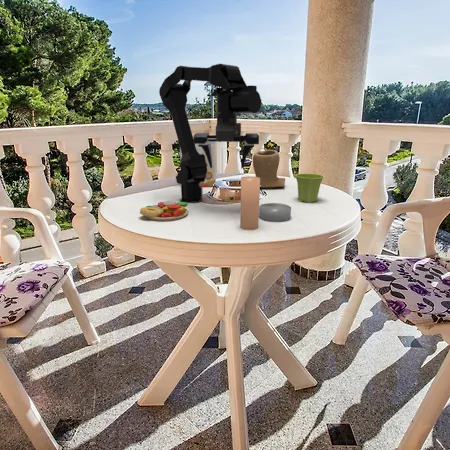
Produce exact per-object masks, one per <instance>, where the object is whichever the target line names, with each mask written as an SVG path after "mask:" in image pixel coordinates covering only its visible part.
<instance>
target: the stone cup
mask: <svg viewBox="0 0 450 450" xmlns="http://www.w3.org/2000/svg"><path fill="white" fill-rule="evenodd" d="M279 165H280V155H279V152H278V151H277V150H275V149H265V150H262V151H261V150H258V151H256V152H255V153H253V156H252V166H253V170H254V174H255V177H259V178H260V185H261V188H260V189H264V188H266V189H267V188H268V189H270V188H271V189H273V188H284V187H285V184H286V178H285V177H278V171H279Z"/></svg>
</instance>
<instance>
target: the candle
mask: <svg viewBox="0 0 450 450" xmlns="http://www.w3.org/2000/svg"><path fill="white" fill-rule="evenodd" d="M260 190H261V188H260V178H259V177H256V176H252V175H251V176H241V177H240V209H239V210H240V212H239V215H240V218H239V219H240V221H239V223H240V224H239V228H241V229H242V230H247V231H253V230H258V228H259V222H260V221H259V220H260V218H259V206H260V192H261V191H260Z"/></svg>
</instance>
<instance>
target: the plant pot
mask: <svg viewBox="0 0 450 450" xmlns="http://www.w3.org/2000/svg"><path fill="white" fill-rule="evenodd" d="M294 176H295V178H296V182H297V194H298V195H297V196H298V197H297V198H298V201H300V202H305V203H315V202H317V201H318V196H319V192H320V188H321V184H322V182H323V178H324V177H325V176H324V175H323V174H319V173H318V174H317V173H297V174H295V175H294Z"/></svg>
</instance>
